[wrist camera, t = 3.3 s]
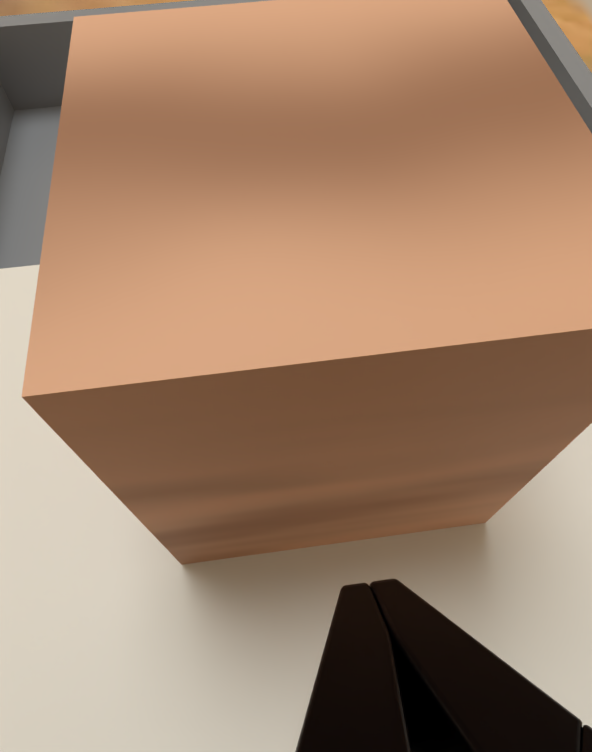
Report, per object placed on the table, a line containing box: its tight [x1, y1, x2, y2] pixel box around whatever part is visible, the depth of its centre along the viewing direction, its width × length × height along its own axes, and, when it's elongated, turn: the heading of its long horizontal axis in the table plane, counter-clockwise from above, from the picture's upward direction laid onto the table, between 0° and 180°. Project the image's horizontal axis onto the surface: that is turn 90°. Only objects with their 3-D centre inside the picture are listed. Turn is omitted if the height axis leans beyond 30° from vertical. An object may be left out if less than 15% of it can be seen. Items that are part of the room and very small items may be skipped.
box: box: [0, 0, 592, 269], centre depth 21 cm, size 13×24×4 cm, turn 97°
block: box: [22, 0, 592, 565], centre depth 11 cm, size 7×7×8 cm
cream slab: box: [0, 265, 592, 752], centre depth 15 cm, size 14×22×3 cm, turn 98°
